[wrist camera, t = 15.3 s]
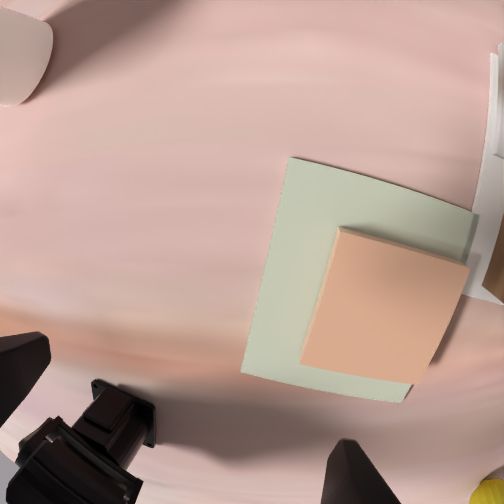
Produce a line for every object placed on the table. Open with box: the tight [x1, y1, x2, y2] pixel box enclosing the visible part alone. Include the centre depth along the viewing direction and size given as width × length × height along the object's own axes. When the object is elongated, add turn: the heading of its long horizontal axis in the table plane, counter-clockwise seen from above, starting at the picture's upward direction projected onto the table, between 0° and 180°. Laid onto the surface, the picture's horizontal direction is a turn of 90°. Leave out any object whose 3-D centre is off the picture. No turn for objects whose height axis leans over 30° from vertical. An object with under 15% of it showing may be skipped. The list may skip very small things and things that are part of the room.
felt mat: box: [241, 157, 480, 403], centre depth 17 cm, size 14×12×1 cm
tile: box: [299, 226, 471, 385], centre depth 16 cm, size 8×2×8 cm
